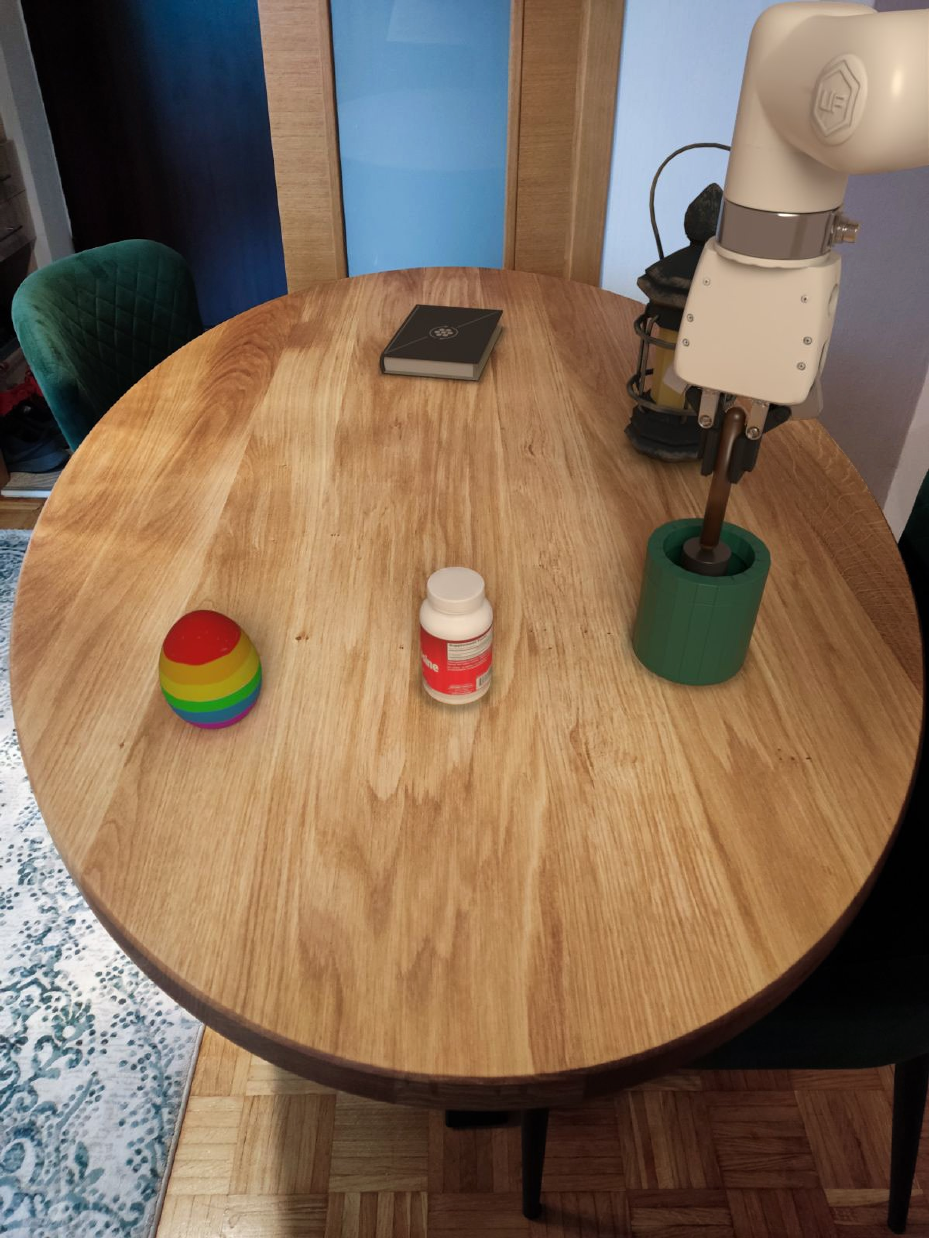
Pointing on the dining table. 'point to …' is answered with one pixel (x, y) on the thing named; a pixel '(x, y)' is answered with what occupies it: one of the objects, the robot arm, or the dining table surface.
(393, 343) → the book
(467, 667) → the pill bottle
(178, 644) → the decorative egg
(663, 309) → the lantern
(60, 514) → the dining table surface
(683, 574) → the jar
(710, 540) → the brown pestle
